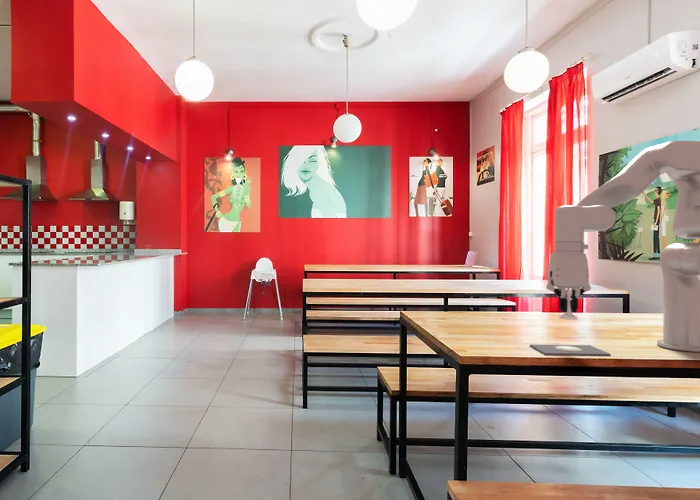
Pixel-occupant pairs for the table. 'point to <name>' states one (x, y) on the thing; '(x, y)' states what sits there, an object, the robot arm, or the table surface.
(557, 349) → the mat
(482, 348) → the table surface
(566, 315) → the chess piece
